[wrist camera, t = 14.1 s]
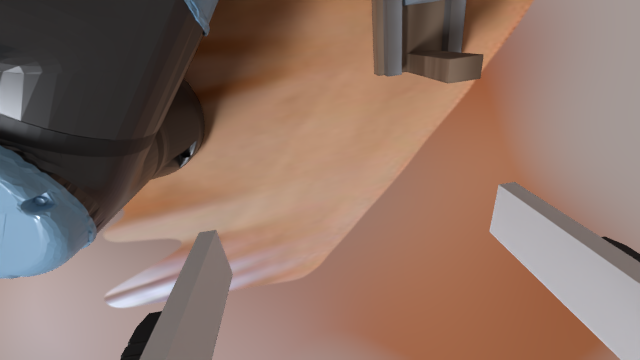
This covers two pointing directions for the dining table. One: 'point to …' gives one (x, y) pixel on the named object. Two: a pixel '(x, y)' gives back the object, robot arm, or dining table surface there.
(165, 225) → the dining table surface
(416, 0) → the grey square slab
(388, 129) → the dining table surface
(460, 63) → the grey u-shaped frame
